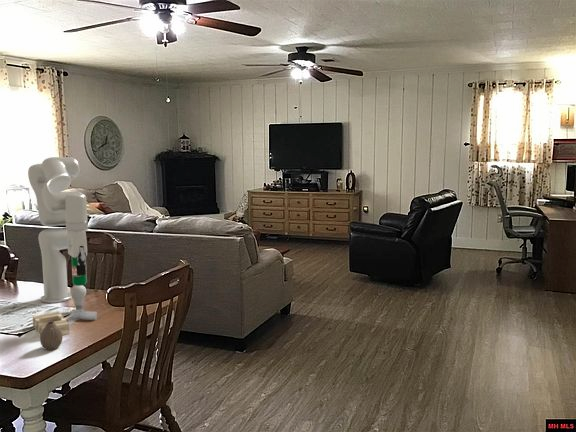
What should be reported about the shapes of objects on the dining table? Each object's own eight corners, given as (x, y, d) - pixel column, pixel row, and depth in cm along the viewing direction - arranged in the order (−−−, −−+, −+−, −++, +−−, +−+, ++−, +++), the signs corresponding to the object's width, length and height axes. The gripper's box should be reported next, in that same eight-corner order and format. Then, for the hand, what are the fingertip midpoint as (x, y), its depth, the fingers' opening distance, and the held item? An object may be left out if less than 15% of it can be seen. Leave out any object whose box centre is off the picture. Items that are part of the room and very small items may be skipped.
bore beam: (33, 326, 192) (32, 315, 191) (58, 321, 197) (58, 311, 197) (42, 339, 179) (41, 328, 179) (69, 333, 185) (68, 323, 184)
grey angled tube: (61, 319, 199) (60, 312, 199) (91, 314, 206) (91, 307, 205) (66, 325, 193) (66, 318, 192) (97, 319, 199) (97, 312, 199)
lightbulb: (81, 313, 207) (80, 287, 205) (68, 312, 208) (66, 286, 206) (90, 308, 213) (89, 283, 211) (77, 307, 214) (75, 282, 212)
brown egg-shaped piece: (45, 344, 175) (43, 319, 174) (66, 343, 176) (64, 319, 174) (37, 352, 168) (35, 326, 167) (58, 351, 169) (57, 326, 168)
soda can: (69, 285, 193) (68, 254, 192) (80, 281, 198) (78, 251, 196) (79, 286, 191) (78, 255, 190) (89, 283, 196) (88, 252, 194)
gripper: (60, 224, 196) (63, 270, 198) (72, 230, 182) (74, 279, 185) (81, 222, 200) (83, 267, 203) (93, 228, 187) (96, 276, 189)
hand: (79, 273), depth 194 cm, fingers closed on soda can, 5 cm apart
